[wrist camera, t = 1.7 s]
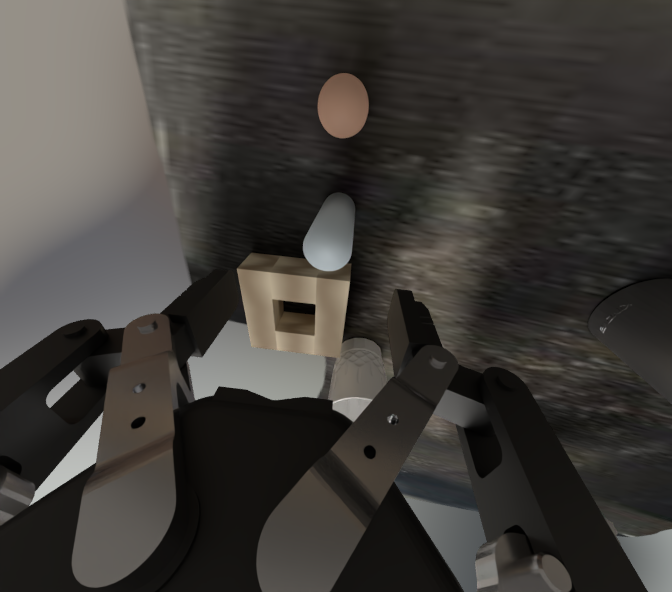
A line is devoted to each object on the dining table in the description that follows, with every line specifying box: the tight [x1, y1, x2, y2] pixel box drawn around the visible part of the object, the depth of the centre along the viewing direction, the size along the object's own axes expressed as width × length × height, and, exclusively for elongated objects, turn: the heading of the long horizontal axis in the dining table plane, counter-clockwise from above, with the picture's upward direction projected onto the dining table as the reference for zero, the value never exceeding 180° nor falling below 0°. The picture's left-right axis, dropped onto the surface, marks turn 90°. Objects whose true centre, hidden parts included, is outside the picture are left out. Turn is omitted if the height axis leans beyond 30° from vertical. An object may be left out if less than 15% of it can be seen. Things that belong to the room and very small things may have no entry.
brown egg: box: [318, 73, 369, 138], centre depth 18 cm, size 3×3×5 cm
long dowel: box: [303, 192, 355, 271], centre depth 20 cm, size 3×3×10 cm
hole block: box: [237, 253, 351, 358], centre depth 30 cm, size 12×12×4 cm
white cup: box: [328, 338, 387, 422], centre depth 32 cm, size 8×8×10 cm
